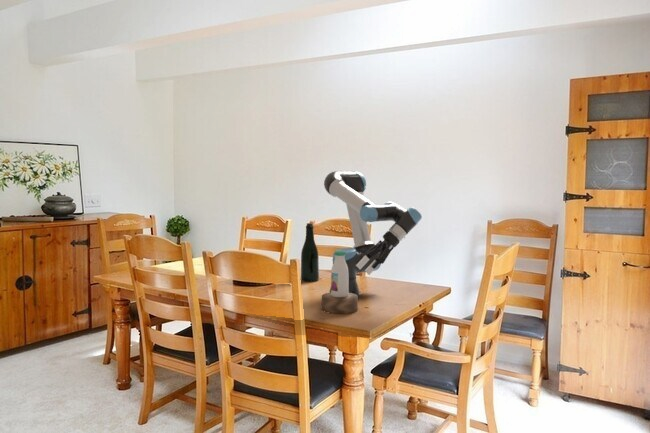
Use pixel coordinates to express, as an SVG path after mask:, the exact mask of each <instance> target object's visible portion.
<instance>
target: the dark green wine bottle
mask: <svg viewBox="0 0 650 433" xmlns="http://www.w3.org/2000/svg"><path fill="white" fill-rule="evenodd" d="M319 264H320V262H319V250H318V247H317V244H316V240H315V238H314V225H313V223H310V222H308V223H306V225H305V239H304V243H303V245H302V249H301V253H300V280H301V281H302V282H307V281H312V282H317V281H319V279H320V266H319Z"/></svg>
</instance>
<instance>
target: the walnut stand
mask: <svg viewBox="0 0 650 433" xmlns="http://www.w3.org/2000/svg"><path fill="white" fill-rule="evenodd" d="M358 298H359V297H358V296H357V295H356V294H353V293H349V294H348V296H347V297H341V298H340V297H333V296H332V295H331V293H329V292H326V293H323V294H322V295H321V311H322V310H323V311H322V312H324V311H325V312H324V313H327V312H329V313H328V314H332V313H335V315H346V313H348V314H353V313H357V311H358V309H359V308H358V303H359V302H358V301H359V300H358Z"/></svg>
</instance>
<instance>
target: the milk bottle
mask: <svg viewBox="0 0 650 433" xmlns="http://www.w3.org/2000/svg"><path fill="white" fill-rule="evenodd" d="M334 251H335V261H334V264H333V263H332V266H331V271H330V272H331V273H330V281H331V282H330V288H331V295H332V296H333V297H340V298H341V297H347V296H348V294H349V274H348V267H347V264H346V262H345V252H344V251H336V250H334Z"/></svg>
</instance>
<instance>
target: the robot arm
mask: <svg viewBox="0 0 650 433" xmlns="http://www.w3.org/2000/svg"><path fill="white" fill-rule="evenodd" d="M366 180H367V179H366V178H365V176H364V174H362V173H361V172H360V171H355V170H354V171H353V170H351V171H349V170H346V171H344V170H343V171H338V170H335V171H331V172H329V173H328V174H327V175H326V177H325V179H324V182H323V186H324V189H325V191H326V192H327V193H328V194H329V195H330V196H332V197H334V198H336V197H337V198H338V199H339V200H341V201H342V202H343V203H345V204H346V208H347V215H348V218H349V222H350V223H349V224H350V228H351V233H352V239H353V244H354V245H353V246H352V247H343V248H338V249H336V250H334V252H333V255H332V265H333V264H334V261H335V251H344V252H345V262H346V264H347V267H348V274H349V293H353V294H356V295H357V296H358V298H359V297H360V295H361V294H360V293H361V292H360V289H359V285H358V281H357V274H360V273H361V274H362V273H366V274H368V275H369V276H370V275H371V274H372V273H373V272H375V271H378V270H379V269H380V268H381V266H382V264H384V263H385V262H386V260H387V258H389V255H390V253H391V252H392V251H393V250H394V249H395V248H396V247H397V246H398V245H399V243H400V241H402V240H404V239H405V238H406V236H407V235H408V234H409V233H410V232H411V231H412V229H414V228H416V227H415V226H417V225H418V223H419V222H420V221H421V220H422V218H423V217H422V214H421V212H419V210H418V209H416V208H415V207H413V206H410V207H409V208H407V209H405V208H403V207H402V206H401V205H398V204H397V203H396V202H393V201H387V202H386V203H384V204H376V203H374V202H372V201H370V200H369V199H368V198H366V197H365V196H364V194H365V193H364V192H365V191H366V187H367V181H366ZM389 221H392V222H394V223H393V224H392V225H391V226H390V227H389V228H388V231H386V232H385V233H384V234H383V235H382V238H383V240H380V239H379V241H378V242H377V243H376V244H375V243H374V242H373V241H372V240H371V236H370V231H369V225H368V223H373V222H389ZM328 293H331V287H330V289H329V291H328Z"/></svg>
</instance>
